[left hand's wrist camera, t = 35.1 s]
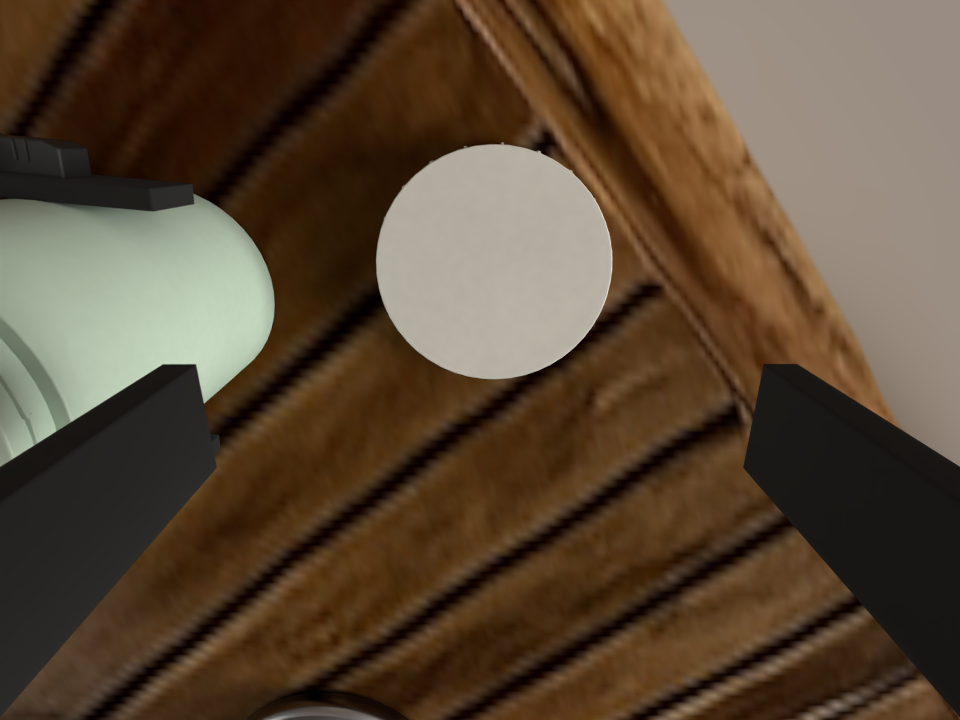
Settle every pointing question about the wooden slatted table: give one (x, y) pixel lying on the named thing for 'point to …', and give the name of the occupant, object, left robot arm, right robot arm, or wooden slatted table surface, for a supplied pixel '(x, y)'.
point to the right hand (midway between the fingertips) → (191, 339)
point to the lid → (494, 261)
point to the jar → (119, 306)
